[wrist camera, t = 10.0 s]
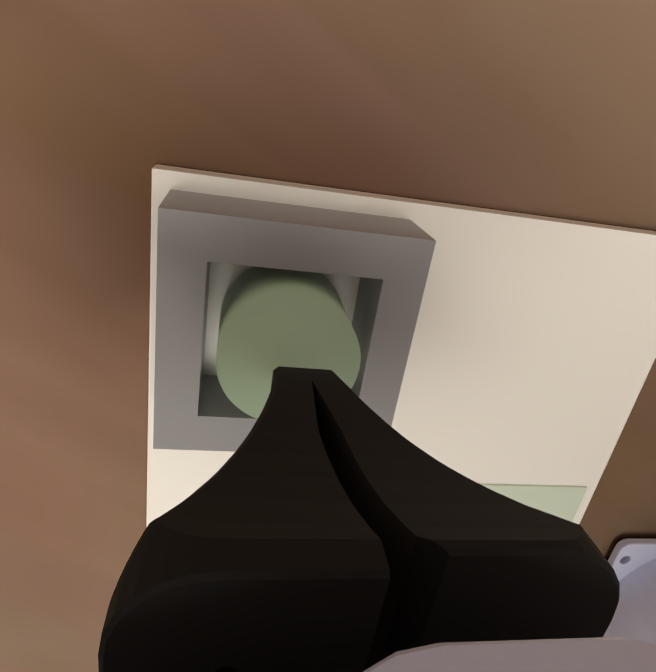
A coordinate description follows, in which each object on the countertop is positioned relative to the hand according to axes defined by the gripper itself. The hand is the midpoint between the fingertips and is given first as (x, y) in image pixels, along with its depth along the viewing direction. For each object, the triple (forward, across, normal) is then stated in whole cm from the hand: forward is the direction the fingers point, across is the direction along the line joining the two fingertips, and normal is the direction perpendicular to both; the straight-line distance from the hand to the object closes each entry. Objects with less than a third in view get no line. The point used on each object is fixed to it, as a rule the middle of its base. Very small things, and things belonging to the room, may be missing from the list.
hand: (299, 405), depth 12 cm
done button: (+5, 0, 0) cm, 5 cm away
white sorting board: (+6, -5, +6) cm, 10 cm away
